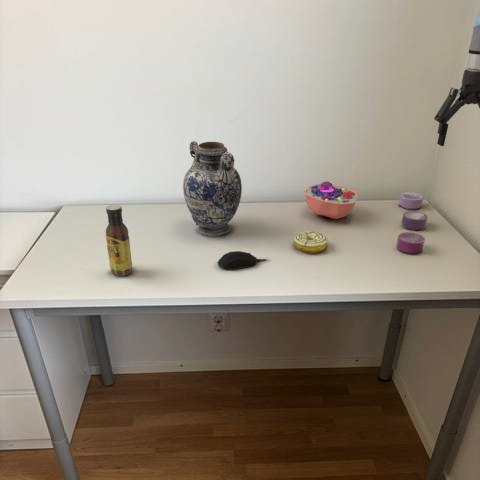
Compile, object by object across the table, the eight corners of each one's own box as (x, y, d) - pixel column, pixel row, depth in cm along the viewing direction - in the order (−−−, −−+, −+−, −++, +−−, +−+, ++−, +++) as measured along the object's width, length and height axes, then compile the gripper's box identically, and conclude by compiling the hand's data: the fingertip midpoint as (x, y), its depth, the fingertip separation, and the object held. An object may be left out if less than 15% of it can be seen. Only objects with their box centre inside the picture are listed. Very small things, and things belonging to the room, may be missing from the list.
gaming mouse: (269, 265, 151) (269, 252, 149) (220, 271, 148) (220, 259, 145) (262, 255, 156) (263, 243, 154) (215, 262, 153) (215, 249, 150)
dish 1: (414, 201, 193) (416, 191, 191) (424, 209, 186) (427, 199, 184) (394, 203, 192) (396, 192, 189) (404, 211, 185) (406, 200, 183)
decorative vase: (172, 227, 173) (166, 142, 157) (215, 213, 183) (213, 132, 167) (212, 249, 160) (208, 158, 144) (255, 232, 170) (257, 146, 154)
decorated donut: (317, 237, 167) (318, 227, 165) (333, 251, 158) (334, 240, 156) (288, 242, 164) (288, 231, 162) (302, 256, 155) (303, 245, 153)
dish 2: (415, 242, 164) (417, 231, 161) (427, 254, 157) (429, 242, 155) (391, 244, 162) (393, 233, 160) (402, 256, 156) (405, 244, 154)
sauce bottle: (106, 272, 147) (95, 206, 136) (123, 264, 151) (114, 200, 140) (120, 279, 144) (110, 212, 133) (137, 271, 148) (129, 205, 136)
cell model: (327, 230, 171) (330, 198, 165) (293, 210, 186) (295, 179, 179) (366, 220, 178) (371, 189, 172) (331, 202, 192) (334, 172, 186)
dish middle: (418, 221, 178) (420, 210, 176) (429, 230, 172) (432, 219, 169) (396, 222, 177) (398, 211, 175) (407, 232, 170) (409, 221, 168)
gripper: (509, 66, 155) (489, 138, 166) (432, 68, 151) (418, 142, 163) (524, 70, 148) (503, 145, 160) (445, 73, 145) (429, 149, 157)
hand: (460, 144), depth 162 cm, fingers open, 13 cm apart
